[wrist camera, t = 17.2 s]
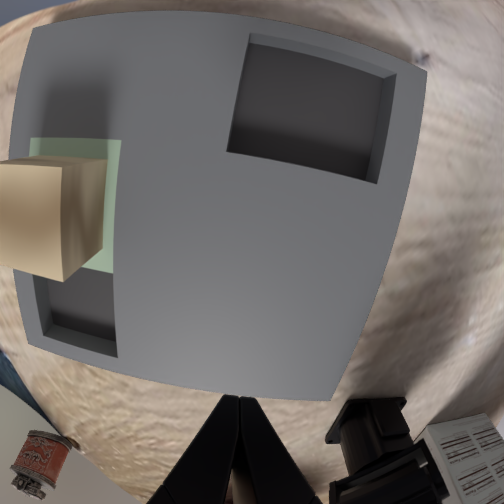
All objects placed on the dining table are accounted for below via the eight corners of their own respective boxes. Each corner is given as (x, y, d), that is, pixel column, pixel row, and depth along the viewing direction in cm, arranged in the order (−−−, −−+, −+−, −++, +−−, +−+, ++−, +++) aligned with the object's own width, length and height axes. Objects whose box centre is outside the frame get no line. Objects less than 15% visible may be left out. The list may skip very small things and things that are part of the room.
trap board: (324, 383, 22) (330, 401, 20) (39, 330, 20) (28, 343, 18) (410, 76, 14) (427, 71, 12) (49, 34, 12) (33, 28, 10)
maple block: (102, 248, 16) (63, 282, 11) (37, 235, 15) (-8, 262, 11) (107, 159, 14) (62, 167, 10) (38, 155, 13) (-13, 163, 9)
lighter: (39, 443, 27) (15, 493, 18) (25, 427, 26) (-2, 478, 16) (77, 450, 26) (54, 509, 17) (62, 434, 25) (35, 495, 16)
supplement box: (426, 476, 32) (456, 553, 15) (362, 491, 31) (386, 584, 14) (488, 410, 27) (541, 496, 10) (425, 423, 26) (480, 543, 9)
